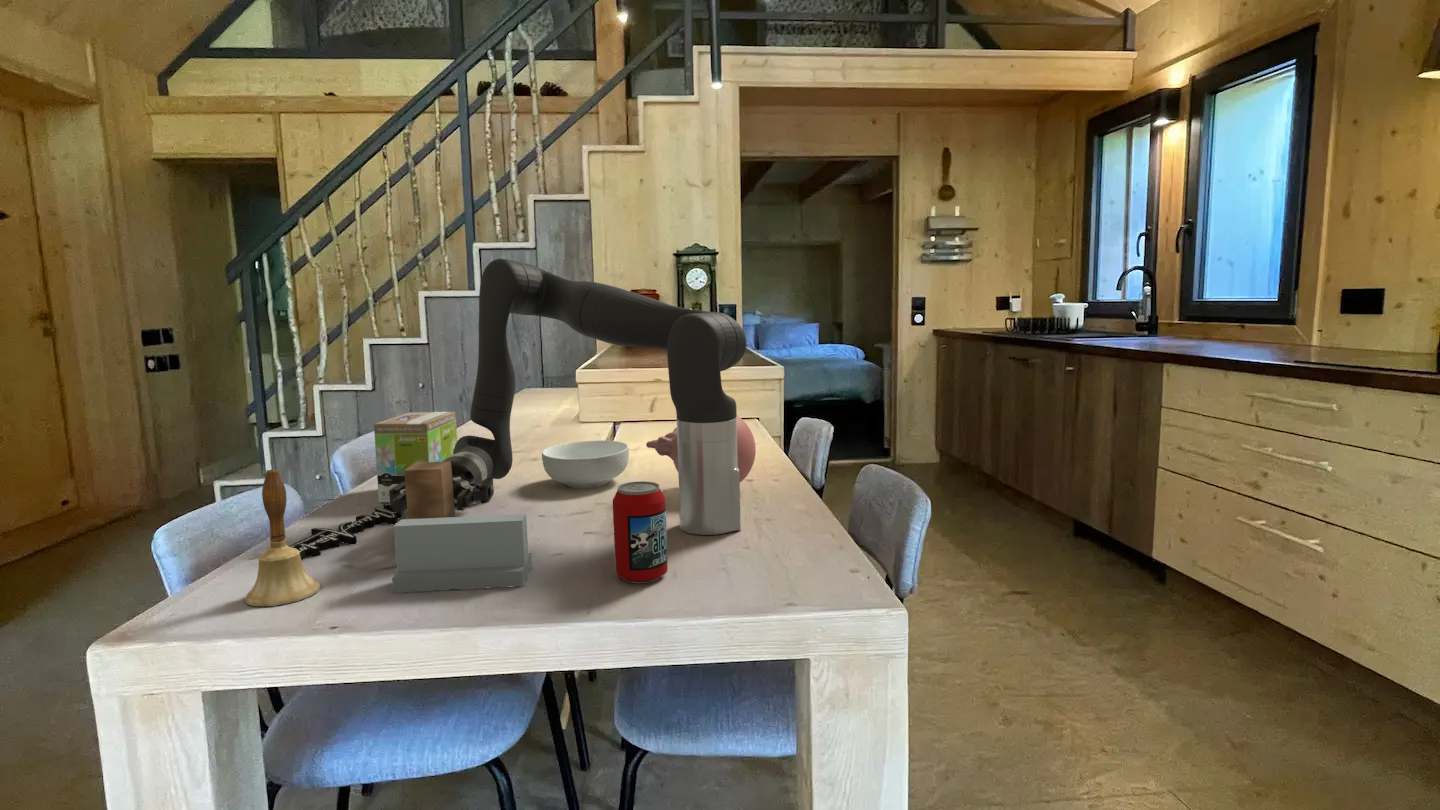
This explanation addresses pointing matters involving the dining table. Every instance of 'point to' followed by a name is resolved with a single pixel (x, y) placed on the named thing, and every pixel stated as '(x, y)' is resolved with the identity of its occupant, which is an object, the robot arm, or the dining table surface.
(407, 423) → the tea box
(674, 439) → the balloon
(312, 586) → the hand bell
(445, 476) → the walnut post
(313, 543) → the nameplate
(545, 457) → the cereal bowl
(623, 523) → the beverage can
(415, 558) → the ridge
